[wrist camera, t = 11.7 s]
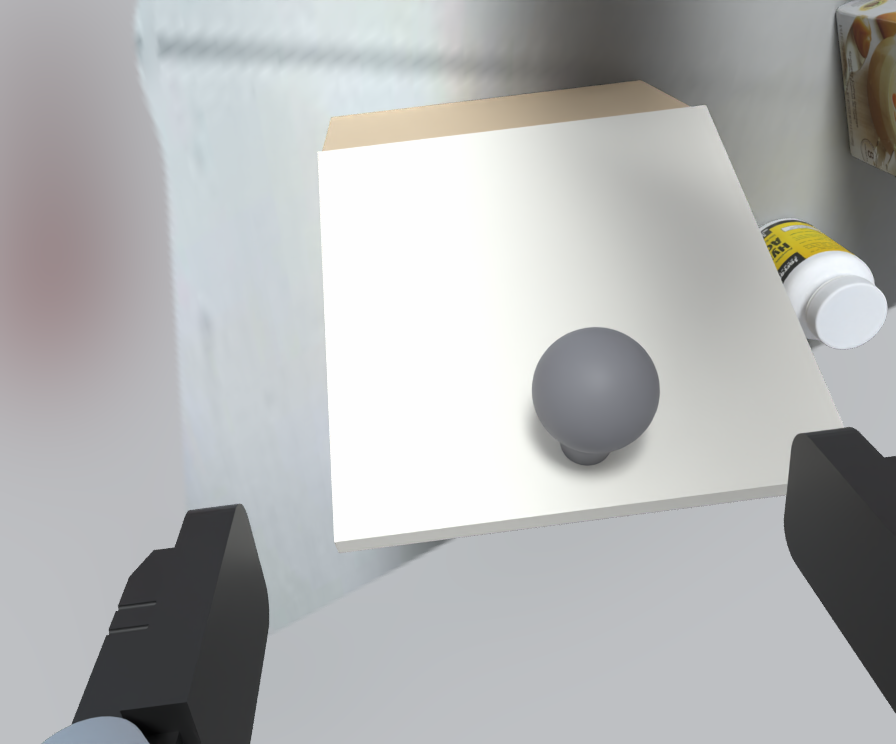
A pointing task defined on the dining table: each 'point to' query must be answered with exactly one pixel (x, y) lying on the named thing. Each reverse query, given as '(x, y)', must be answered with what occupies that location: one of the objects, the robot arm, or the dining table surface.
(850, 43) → the coffee box
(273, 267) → the dining table surface
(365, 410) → the lid
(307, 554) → the dining table surface
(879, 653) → the robot arm
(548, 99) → the carton
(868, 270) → the supplement bottle
